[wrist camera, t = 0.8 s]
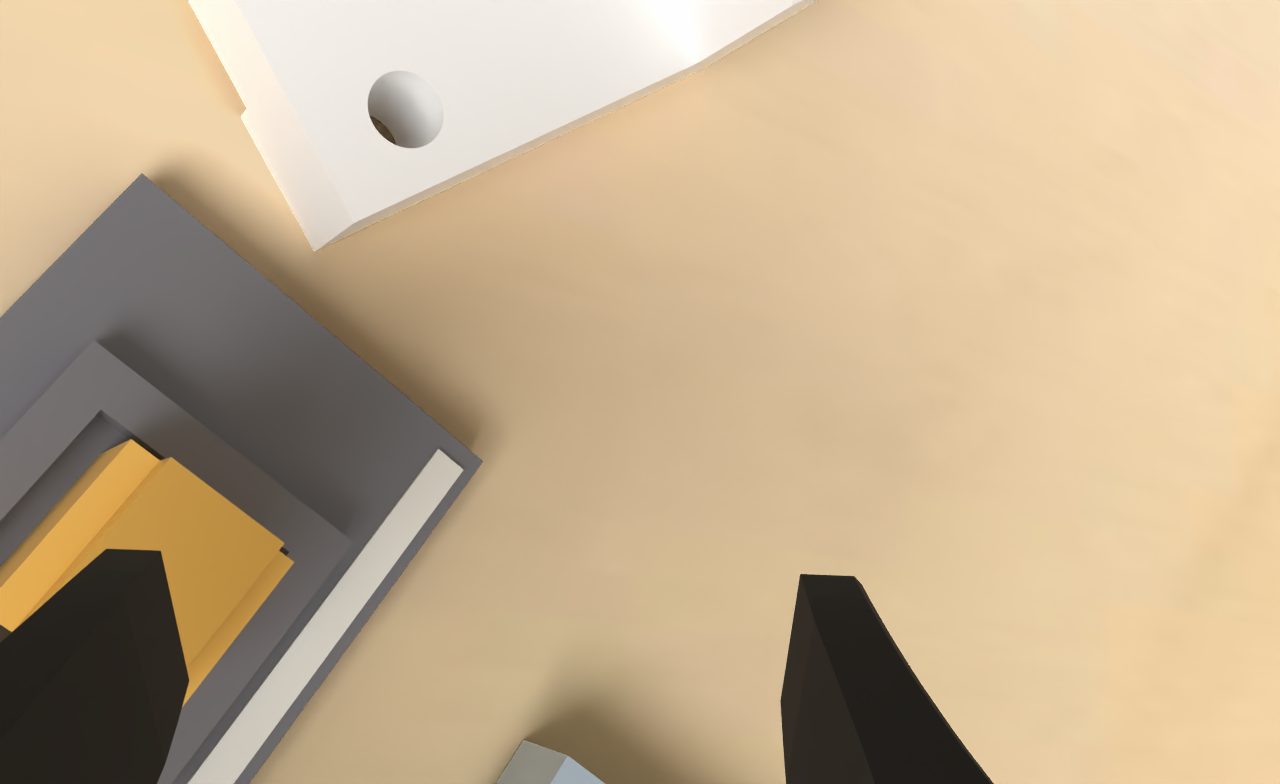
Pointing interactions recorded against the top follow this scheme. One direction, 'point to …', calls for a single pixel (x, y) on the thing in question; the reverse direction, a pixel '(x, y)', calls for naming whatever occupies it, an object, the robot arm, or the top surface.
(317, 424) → the grey socket base
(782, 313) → the top surface
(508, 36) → the bracket
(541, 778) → the parts tray
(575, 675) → the top surface
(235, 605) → the block
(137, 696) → the robot arm
